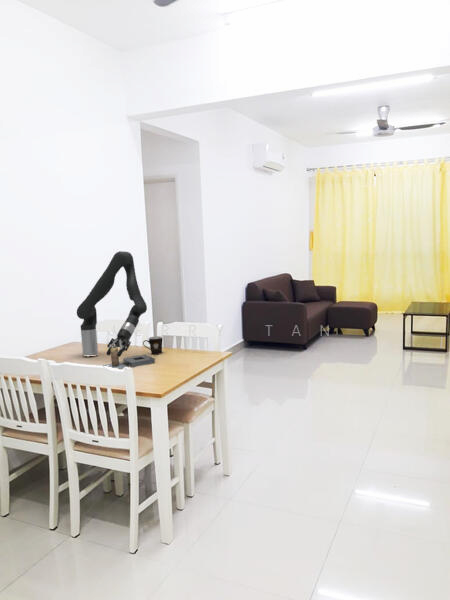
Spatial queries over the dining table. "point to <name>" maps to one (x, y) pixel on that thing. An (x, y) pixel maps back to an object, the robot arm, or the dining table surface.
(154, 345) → the coffee mug
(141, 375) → the dining table surface
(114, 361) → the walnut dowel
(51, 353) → the dining table surface
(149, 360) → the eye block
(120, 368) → the slate pad
